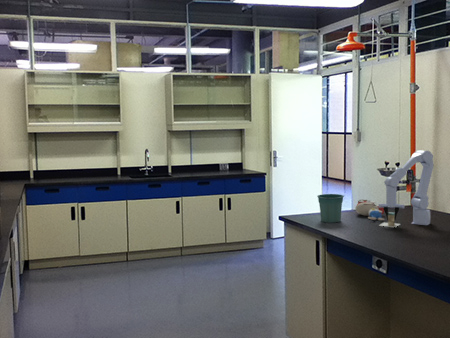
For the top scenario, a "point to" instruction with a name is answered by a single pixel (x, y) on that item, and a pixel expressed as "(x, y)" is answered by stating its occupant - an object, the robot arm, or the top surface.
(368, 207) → the toy
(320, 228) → the top surface
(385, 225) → the mat
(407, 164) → the robot arm
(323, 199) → the flower pot
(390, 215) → the teal block wooden top
